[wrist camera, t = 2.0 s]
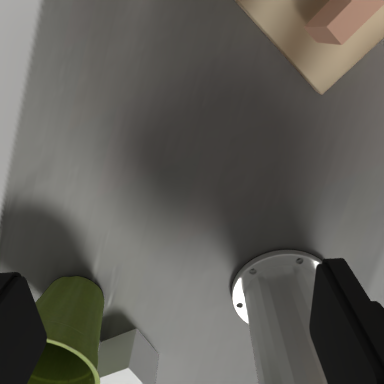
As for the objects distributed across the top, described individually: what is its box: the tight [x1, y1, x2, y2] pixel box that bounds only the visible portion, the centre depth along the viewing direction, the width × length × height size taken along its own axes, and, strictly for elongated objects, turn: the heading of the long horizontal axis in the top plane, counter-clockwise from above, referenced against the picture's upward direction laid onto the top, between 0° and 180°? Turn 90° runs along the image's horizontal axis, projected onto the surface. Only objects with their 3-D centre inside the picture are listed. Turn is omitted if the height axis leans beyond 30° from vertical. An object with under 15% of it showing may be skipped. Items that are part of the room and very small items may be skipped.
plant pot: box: [27, 276, 104, 384], centre depth 38 cm, size 12×12×11 cm
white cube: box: [97, 328, 159, 384], centre depth 44 cm, size 6×6×6 cm
